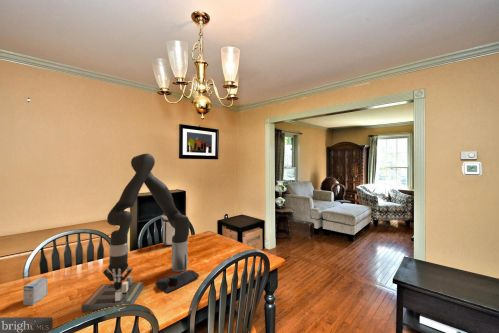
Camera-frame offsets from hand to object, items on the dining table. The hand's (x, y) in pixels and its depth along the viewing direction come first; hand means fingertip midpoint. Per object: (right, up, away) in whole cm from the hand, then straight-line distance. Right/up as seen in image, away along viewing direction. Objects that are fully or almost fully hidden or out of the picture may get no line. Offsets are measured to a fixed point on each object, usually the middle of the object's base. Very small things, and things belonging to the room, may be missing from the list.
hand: (117, 289), depth 108 cm
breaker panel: (-1, -5, 0) cm, 5 cm away
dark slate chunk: (+23, -6, +17) cm, 29 cm away
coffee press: (+1, -4, +74) cm, 75 cm away
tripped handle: (+3, -1, 0) cm, 4 cm away
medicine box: (-37, -4, -2) cm, 37 cm away
